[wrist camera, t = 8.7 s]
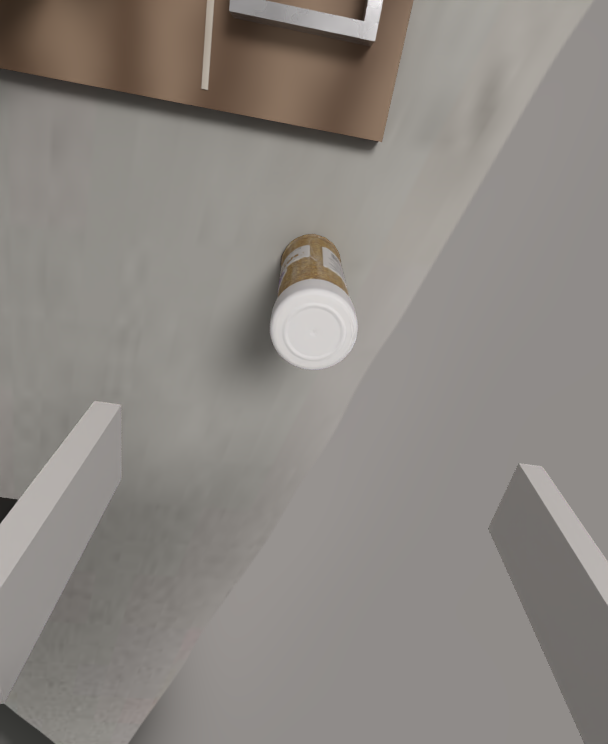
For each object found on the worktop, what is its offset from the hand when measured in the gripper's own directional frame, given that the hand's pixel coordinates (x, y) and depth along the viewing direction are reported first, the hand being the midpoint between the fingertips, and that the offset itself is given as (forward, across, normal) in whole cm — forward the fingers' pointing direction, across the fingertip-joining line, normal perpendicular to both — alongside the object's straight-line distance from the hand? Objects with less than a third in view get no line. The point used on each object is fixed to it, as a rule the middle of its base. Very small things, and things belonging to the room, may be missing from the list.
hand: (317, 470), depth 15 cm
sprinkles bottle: (+25, 0, 0) cm, 25 cm away
